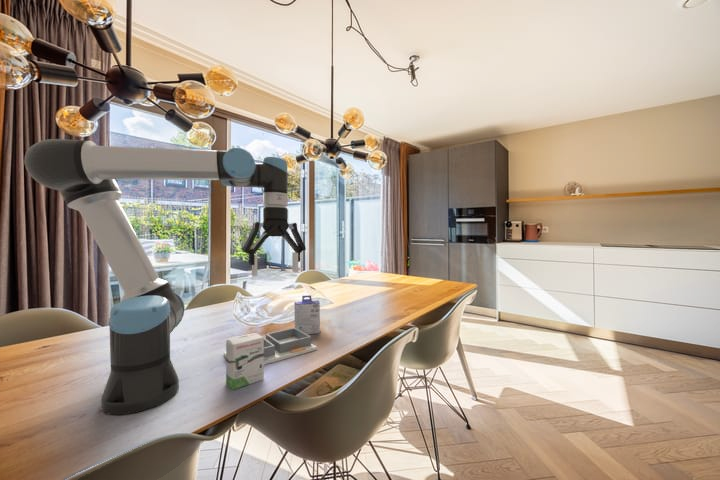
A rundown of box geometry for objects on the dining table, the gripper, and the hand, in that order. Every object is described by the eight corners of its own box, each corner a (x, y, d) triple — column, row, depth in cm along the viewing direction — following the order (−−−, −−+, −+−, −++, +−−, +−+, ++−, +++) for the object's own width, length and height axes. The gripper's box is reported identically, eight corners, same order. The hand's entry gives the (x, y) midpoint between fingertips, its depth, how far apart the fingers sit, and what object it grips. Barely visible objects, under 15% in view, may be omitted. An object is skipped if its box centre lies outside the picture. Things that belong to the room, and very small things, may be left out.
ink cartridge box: (318, 329, 123) (318, 294, 122) (320, 333, 118) (320, 297, 117) (294, 331, 120) (294, 295, 120) (295, 335, 115) (294, 298, 114)
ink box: (232, 390, 75) (232, 344, 75) (225, 383, 79) (225, 339, 79) (264, 379, 81) (264, 336, 81) (256, 372, 85) (256, 331, 84)
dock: (237, 372, 85) (237, 358, 85) (223, 355, 97) (223, 342, 97) (316, 349, 101) (316, 337, 101) (296, 337, 113) (296, 326, 113)
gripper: (238, 204, 84) (239, 278, 85) (315, 208, 100) (315, 271, 100) (231, 205, 90) (231, 275, 90) (304, 209, 106) (304, 269, 106)
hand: (275, 273), depth 95 cm, fingers open, 13 cm apart
